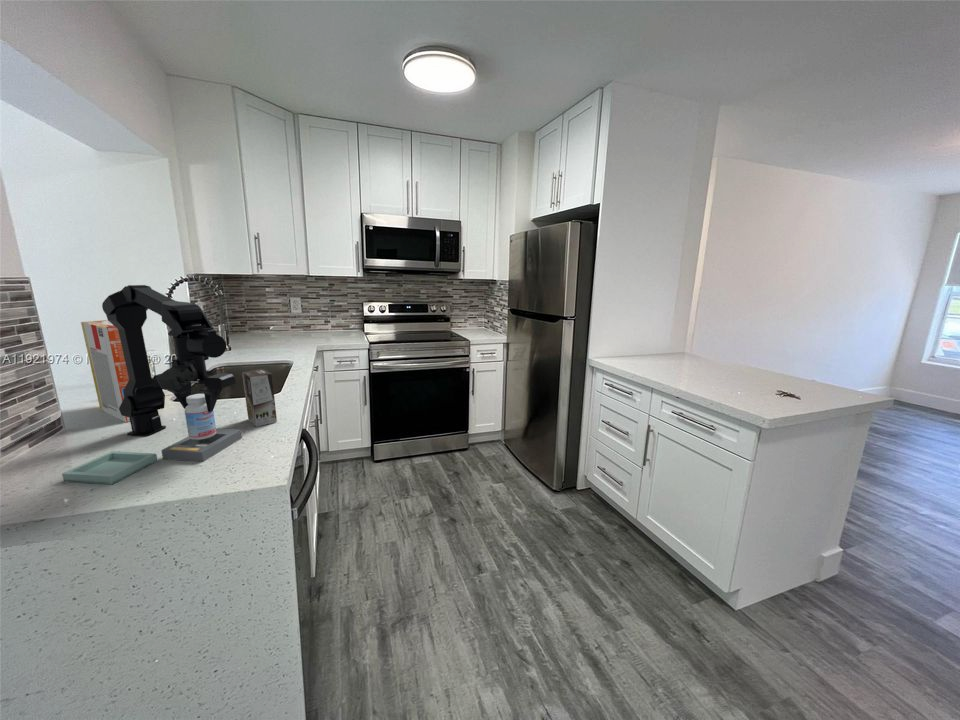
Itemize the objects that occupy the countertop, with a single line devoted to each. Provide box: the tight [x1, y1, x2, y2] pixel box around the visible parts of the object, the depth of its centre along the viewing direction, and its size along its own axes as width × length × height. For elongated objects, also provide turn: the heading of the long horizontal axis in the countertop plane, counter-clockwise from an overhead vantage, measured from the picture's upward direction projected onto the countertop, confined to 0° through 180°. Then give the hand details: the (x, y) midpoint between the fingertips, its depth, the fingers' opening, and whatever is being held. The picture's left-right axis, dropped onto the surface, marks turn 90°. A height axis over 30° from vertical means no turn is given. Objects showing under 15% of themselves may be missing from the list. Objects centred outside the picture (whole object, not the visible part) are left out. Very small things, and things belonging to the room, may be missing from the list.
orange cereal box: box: [80, 319, 146, 424], centre depth 124 cm, size 23×8×30 cm, turn 59°
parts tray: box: [61, 450, 158, 485], centre depth 90 cm, size 12×11×2 cm
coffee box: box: [241, 368, 278, 428], centre depth 120 cm, size 9×6×16 cm
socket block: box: [161, 428, 243, 462], centre depth 102 cm, size 11×14×3 cm
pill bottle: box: [184, 393, 217, 440], centre depth 100 cm, size 6×6×11 cm
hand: (199, 411), depth 100 cm, fingers closed on pill bottle, 6 cm apart
